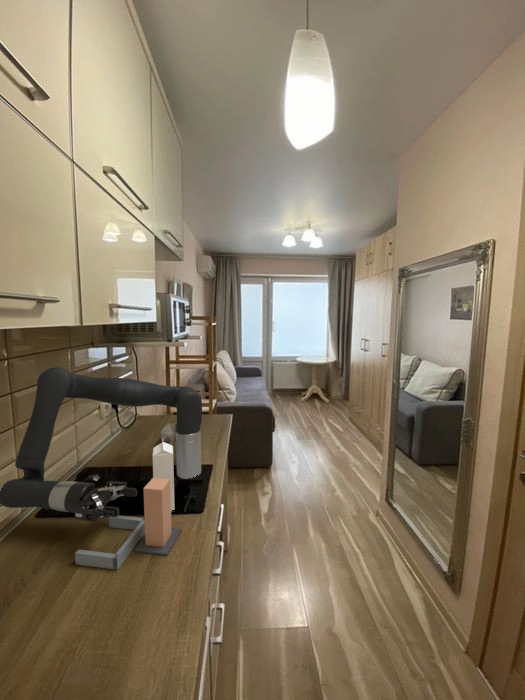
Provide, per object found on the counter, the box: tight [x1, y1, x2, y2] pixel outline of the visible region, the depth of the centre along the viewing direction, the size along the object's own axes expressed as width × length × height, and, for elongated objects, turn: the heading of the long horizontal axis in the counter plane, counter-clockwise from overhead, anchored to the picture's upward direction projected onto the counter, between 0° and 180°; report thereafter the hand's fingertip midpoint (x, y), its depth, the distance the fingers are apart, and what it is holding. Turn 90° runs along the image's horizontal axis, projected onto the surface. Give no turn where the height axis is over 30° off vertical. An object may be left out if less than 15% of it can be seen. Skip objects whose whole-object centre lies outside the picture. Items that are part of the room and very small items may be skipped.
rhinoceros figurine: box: [159, 421, 177, 446], centre depth 142 cm, size 8×14×15 cm
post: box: [143, 477, 172, 547], centre depth 81 cm, size 5×5×16 cm
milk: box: [152, 441, 176, 512], centre depth 96 cm, size 6×6×22 cm
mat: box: [133, 527, 182, 557], centre depth 83 cm, size 9×9×1 cm
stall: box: [74, 514, 145, 571], centre depth 81 cm, size 14×11×3 cm
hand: (128, 502), depth 82 cm, fingers open, 8 cm apart
